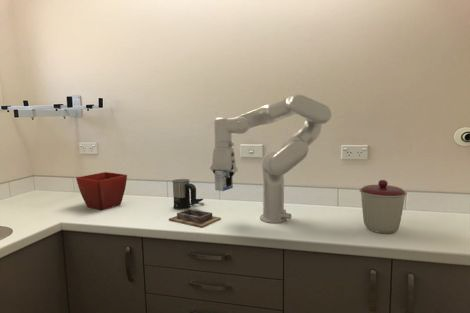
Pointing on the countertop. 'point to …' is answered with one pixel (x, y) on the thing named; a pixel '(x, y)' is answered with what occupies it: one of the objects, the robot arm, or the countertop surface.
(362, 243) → the countertop surface
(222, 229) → the countertop surface
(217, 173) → the medicine box
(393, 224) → the canister
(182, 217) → the holder
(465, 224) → the countertop surface
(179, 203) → the milk frother
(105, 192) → the plant pot
